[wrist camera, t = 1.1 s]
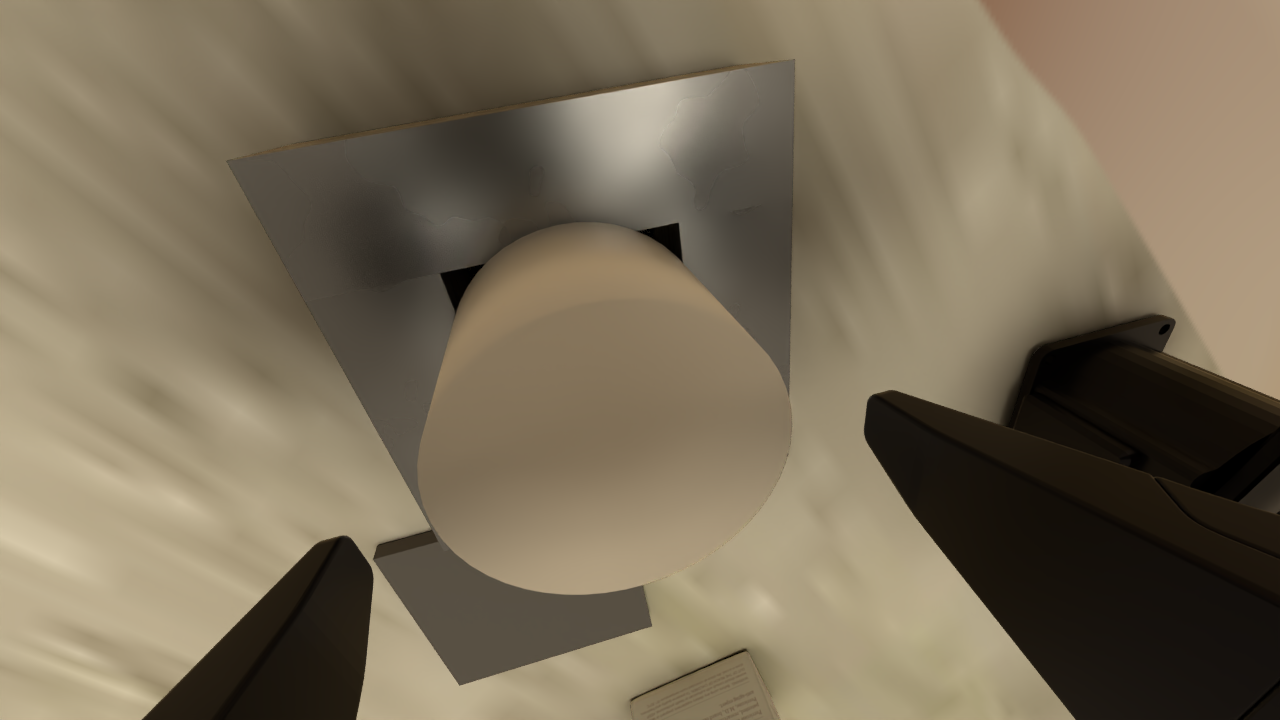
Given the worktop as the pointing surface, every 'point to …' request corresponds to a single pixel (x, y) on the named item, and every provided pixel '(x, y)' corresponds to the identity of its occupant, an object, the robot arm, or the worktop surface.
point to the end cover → (597, 416)
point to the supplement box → (711, 695)
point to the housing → (528, 215)
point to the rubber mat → (498, 611)
